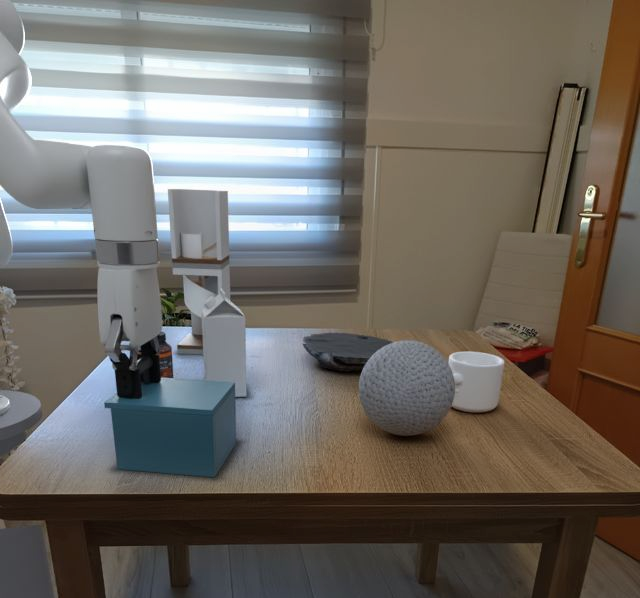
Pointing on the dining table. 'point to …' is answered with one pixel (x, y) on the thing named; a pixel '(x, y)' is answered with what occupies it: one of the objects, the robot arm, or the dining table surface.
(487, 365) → the mug
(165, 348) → the supplement bottle
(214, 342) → the milk carton
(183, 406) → the case lid
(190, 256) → the display case
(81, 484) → the dining table surface
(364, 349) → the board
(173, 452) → the case
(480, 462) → the dining table surface
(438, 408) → the decorative ball
